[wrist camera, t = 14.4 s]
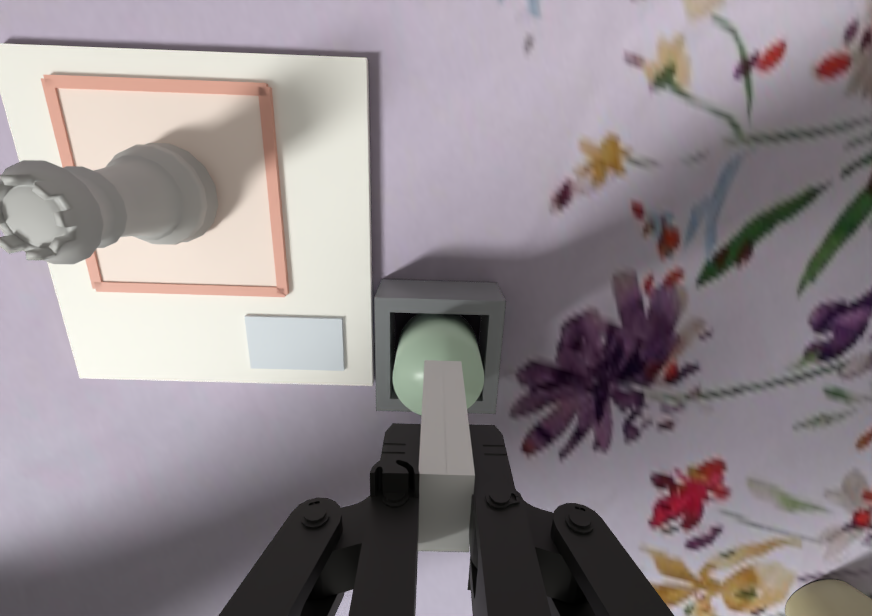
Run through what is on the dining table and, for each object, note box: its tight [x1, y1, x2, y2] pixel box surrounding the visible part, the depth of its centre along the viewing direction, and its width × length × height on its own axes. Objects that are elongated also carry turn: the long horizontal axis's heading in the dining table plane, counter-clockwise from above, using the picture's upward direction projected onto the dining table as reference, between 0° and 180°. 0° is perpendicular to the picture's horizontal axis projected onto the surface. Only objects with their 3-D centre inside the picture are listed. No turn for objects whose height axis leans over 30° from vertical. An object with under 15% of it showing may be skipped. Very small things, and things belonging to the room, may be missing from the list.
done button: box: [393, 313, 484, 416], centre depth 21 cm, size 4×4×4 cm
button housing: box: [374, 279, 506, 414], centre depth 22 cm, size 6×6×3 cm
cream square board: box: [0, 43, 374, 386], centre depth 21 cm, size 16×16×1 cm
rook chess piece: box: [0, 143, 218, 264], centre depth 17 cm, size 4×4×8 cm
